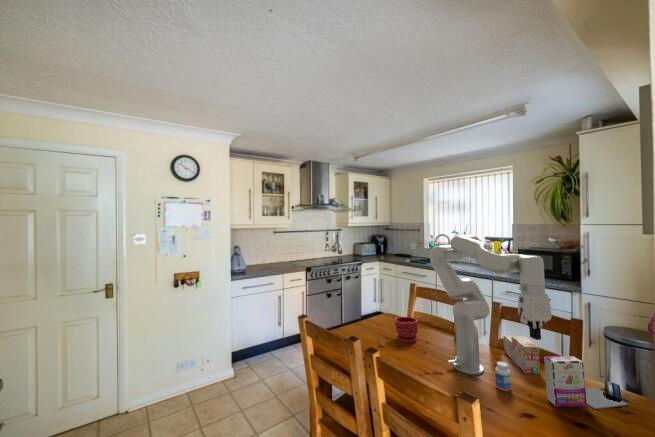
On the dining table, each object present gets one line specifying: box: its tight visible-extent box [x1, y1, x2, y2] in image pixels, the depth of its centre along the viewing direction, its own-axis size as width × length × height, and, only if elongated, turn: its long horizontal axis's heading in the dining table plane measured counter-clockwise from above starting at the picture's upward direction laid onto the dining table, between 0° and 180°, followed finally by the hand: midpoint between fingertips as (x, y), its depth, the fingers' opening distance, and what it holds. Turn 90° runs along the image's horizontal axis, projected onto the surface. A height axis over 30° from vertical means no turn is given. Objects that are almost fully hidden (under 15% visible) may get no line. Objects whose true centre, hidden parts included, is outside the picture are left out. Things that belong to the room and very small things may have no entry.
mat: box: [585, 387, 629, 410], centre depth 107 cm, size 14×11×1 cm
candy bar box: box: [543, 355, 588, 408], centre depth 105 cm, size 11×5×16 cm, turn 87°
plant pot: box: [394, 316, 419, 343], centre depth 167 cm, size 13×13×12 cm
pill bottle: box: [494, 361, 512, 392], centre depth 115 cm, size 6×5×10 cm
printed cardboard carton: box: [503, 334, 541, 375], centre depth 136 cm, size 21×6×12 cm, turn 170°
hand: (535, 338), depth 104 cm, fingers closed
